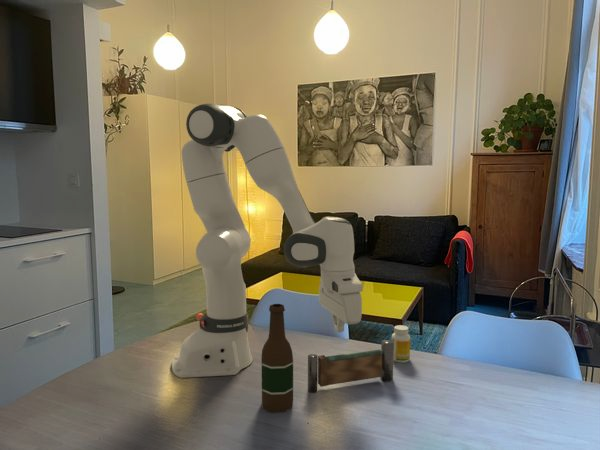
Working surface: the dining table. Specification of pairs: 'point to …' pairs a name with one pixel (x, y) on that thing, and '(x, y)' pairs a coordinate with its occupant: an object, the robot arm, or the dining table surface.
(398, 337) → the supplement bottle
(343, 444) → the dining table surface
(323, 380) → the brown wooden panel
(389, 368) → the posts
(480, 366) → the dining table surface
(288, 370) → the beer bottle
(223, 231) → the robot arm
